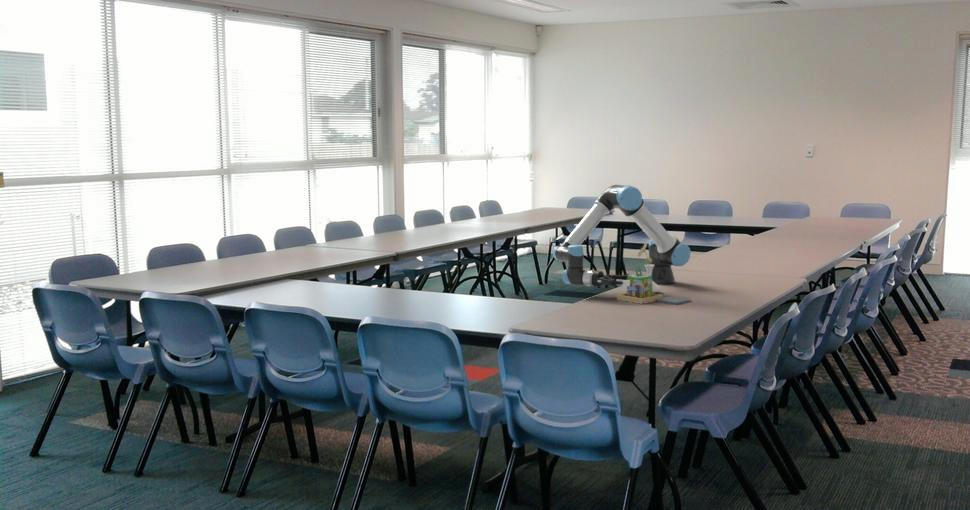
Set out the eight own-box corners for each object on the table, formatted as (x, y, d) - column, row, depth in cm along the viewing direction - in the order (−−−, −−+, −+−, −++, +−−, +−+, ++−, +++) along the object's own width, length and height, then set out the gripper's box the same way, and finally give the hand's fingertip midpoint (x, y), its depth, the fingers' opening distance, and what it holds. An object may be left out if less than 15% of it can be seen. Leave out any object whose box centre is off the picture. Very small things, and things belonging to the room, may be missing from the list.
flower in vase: (646, 290, 460) (646, 240, 457) (665, 292, 452) (666, 242, 449) (630, 293, 451) (630, 243, 448) (650, 296, 443) (650, 244, 439)
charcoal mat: (655, 301, 428) (655, 299, 428) (671, 298, 435) (671, 296, 435) (675, 304, 419) (675, 302, 419) (691, 301, 426) (691, 299, 426)
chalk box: (643, 302, 426) (643, 271, 424) (626, 300, 432) (626, 269, 430) (653, 299, 433) (653, 268, 431) (636, 297, 439) (636, 267, 437)
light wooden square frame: (617, 300, 434) (617, 294, 433) (638, 296, 443) (638, 291, 443) (641, 304, 422) (641, 298, 422) (662, 300, 432) (662, 294, 431)
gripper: (604, 282, 454) (645, 285, 443) (582, 290, 433) (624, 293, 422) (604, 267, 453) (645, 269, 442) (582, 274, 432) (624, 277, 421)
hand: (635, 281), depth 432 cm, fingers open, 13 cm apart
